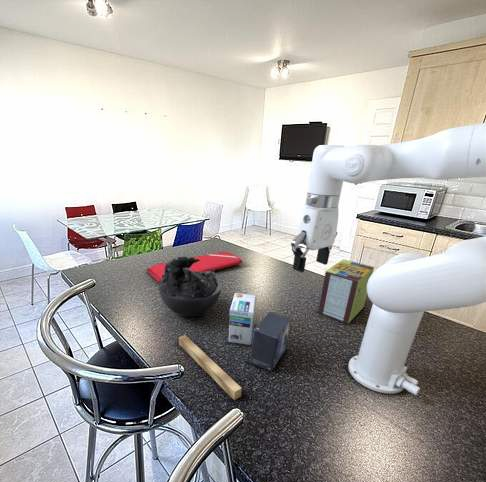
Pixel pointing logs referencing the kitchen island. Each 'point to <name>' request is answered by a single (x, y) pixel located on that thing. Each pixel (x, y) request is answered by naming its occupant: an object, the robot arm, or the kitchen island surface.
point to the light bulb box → (242, 318)
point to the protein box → (344, 290)
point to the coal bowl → (188, 288)
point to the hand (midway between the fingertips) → (310, 266)
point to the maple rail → (211, 368)
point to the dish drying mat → (201, 264)
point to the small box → (269, 341)
